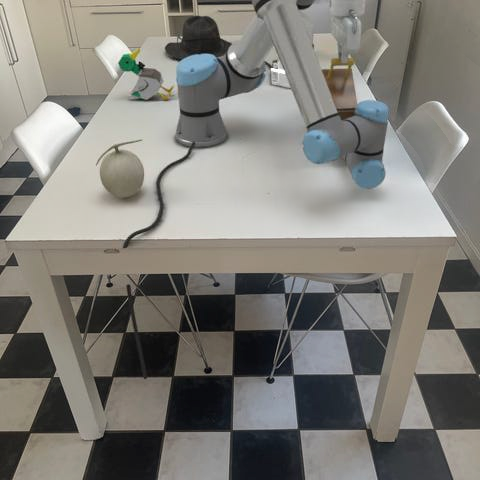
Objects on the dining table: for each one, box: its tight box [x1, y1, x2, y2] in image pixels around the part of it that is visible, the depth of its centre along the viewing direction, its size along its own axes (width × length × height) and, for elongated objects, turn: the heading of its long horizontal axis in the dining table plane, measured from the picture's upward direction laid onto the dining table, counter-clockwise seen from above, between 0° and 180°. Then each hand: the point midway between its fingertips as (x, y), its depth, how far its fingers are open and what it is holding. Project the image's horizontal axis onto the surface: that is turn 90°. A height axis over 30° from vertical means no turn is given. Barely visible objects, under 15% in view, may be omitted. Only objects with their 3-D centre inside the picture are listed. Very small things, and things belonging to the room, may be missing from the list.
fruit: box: [95, 139, 145, 199], centre depth 124 cm, size 10×12×15 cm
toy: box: [117, 47, 175, 101], centre depth 181 cm, size 6×17×20 cm
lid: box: [321, 57, 358, 111], centre depth 145 cm, size 14×9×9 cm
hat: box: [164, 15, 233, 60], centre depth 230 cm, size 32×35×14 cm
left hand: (337, 116), depth 151 cm, fingers closed on chest, 9 cm apart
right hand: (342, 60), depth 142 cm, fingers closed, pressing on lid
